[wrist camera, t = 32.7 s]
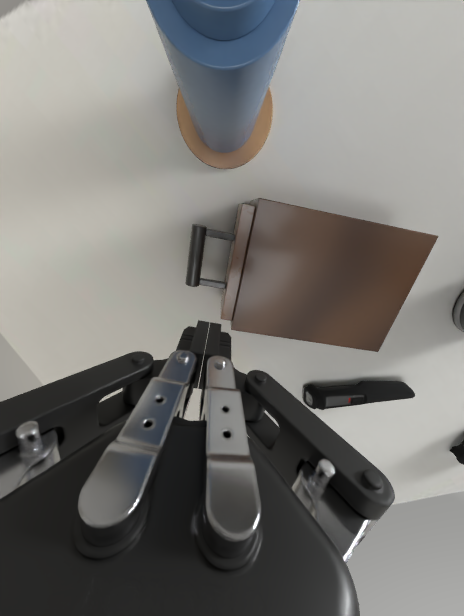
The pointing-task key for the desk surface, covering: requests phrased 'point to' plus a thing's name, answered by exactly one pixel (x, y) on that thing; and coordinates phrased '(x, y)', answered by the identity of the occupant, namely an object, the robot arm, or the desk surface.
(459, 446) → the game controller
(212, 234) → the drawer
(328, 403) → the electric trimmer
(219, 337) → the robot arm
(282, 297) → the drawer unit
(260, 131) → the cork coaster
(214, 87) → the steel bottle
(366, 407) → the desk surface
